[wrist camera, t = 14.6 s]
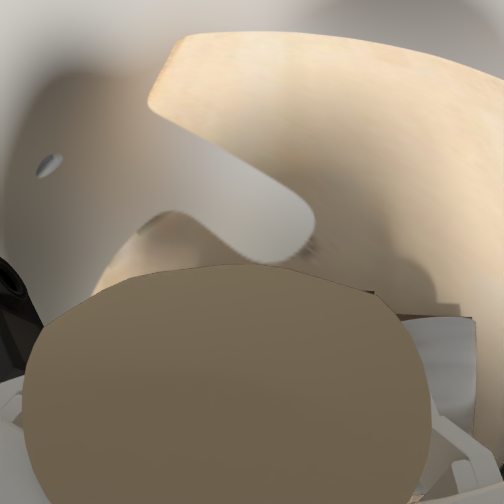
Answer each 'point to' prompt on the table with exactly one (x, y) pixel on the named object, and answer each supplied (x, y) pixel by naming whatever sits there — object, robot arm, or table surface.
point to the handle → (227, 393)
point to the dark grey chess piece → (502, 472)
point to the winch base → (447, 365)
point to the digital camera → (15, 324)
